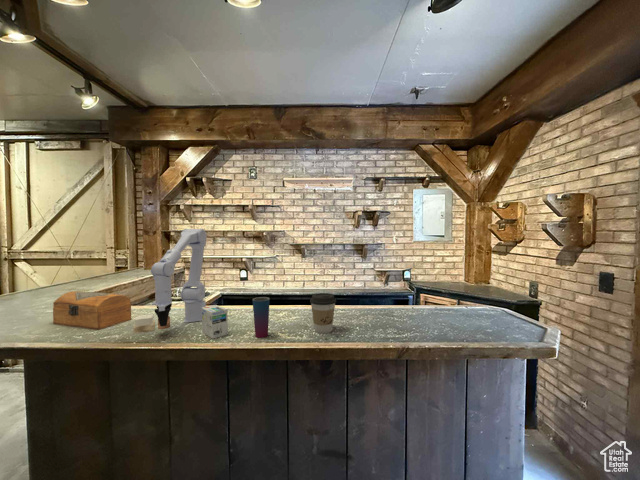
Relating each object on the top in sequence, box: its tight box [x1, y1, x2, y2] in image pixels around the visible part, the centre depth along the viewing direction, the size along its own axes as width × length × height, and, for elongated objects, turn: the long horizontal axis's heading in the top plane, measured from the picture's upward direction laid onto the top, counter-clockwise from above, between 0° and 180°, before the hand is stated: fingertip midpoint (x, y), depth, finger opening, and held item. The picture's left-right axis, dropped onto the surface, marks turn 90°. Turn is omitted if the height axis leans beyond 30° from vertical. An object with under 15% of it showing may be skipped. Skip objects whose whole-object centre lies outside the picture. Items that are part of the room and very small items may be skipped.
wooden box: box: [52, 290, 132, 330], centre depth 128 cm, size 30×16×14 cm, turn 72°
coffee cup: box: [309, 292, 337, 334], centre depth 114 cm, size 11×11×15 cm
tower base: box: [133, 319, 156, 334], centre depth 117 cm, size 7×7×3 cm
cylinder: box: [157, 315, 171, 330], centre depth 111 cm, size 4×4×4 cm
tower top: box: [134, 313, 155, 327], centre depth 117 cm, size 6×6×3 cm
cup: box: [252, 296, 271, 339], centre depth 109 cm, size 7×7×15 cm
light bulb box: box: [201, 304, 229, 340], centre depth 112 cm, size 11×7×11 cm, turn 45°
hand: (164, 323), depth 111 cm, fingers closed on cylinder, 4 cm apart
